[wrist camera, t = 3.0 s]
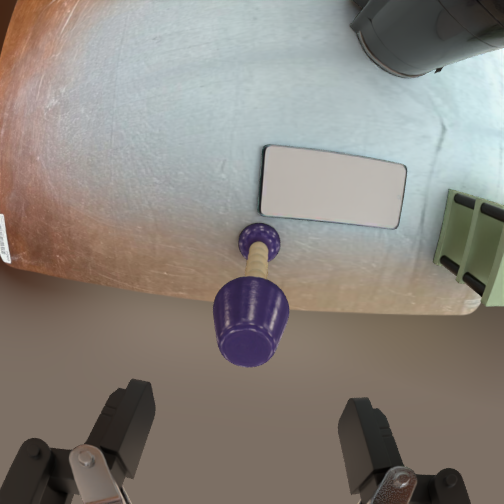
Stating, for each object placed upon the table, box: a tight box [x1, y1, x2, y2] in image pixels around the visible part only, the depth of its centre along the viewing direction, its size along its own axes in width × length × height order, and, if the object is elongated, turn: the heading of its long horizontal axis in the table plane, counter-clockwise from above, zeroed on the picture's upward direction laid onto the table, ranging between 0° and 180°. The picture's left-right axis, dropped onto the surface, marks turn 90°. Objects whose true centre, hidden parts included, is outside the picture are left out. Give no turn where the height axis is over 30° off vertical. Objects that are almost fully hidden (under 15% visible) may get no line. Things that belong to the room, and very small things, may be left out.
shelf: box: [433, 189, 504, 306], centre depth 23 cm, size 12×9×11 cm
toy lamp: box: [213, 223, 289, 367], centre depth 22 cm, size 5×5×17 cm
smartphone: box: [258, 144, 407, 229], centre depth 27 cm, size 7×1×15 cm
